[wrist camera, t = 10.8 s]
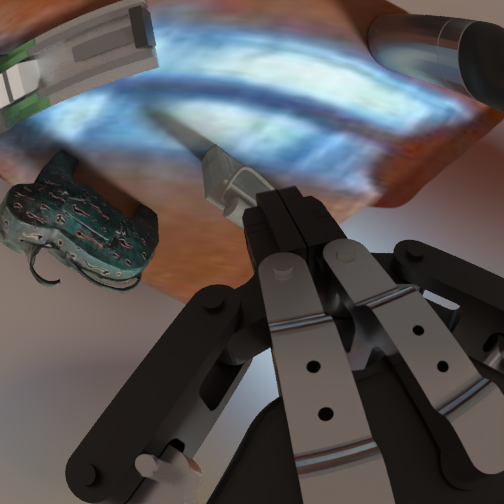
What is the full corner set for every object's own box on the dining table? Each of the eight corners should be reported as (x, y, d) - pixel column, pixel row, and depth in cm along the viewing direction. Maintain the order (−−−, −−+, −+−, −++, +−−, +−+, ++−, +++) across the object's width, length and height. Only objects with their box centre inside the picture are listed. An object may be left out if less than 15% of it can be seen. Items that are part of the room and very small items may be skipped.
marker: (36, 59, 23) (16, 63, 19) (42, 87, 26) (24, 94, 22) (12, 72, 23) (-9, 79, 19) (19, 99, 26) (-1, 109, 22)
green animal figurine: (39, 167, 34) (-31, 257, 19) (59, 131, 32) (-20, 207, 16) (145, 236, 45) (133, 346, 30) (170, 206, 43) (166, 315, 27)
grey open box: (145, -5, 24) (137, -14, 19) (159, 66, 30) (153, 70, 25) (7, 56, 22) (-20, 63, 17) (23, 119, 29) (0, 134, 24)
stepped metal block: (149, 12, 24) (140, 5, 19) (156, 45, 27) (148, 45, 22) (75, 38, 23) (51, 39, 18) (82, 70, 26) (60, 77, 21)
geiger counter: (198, 221, 29) (340, 308, 42) (242, 173, 27) (374, 281, 40) (194, 165, 39) (310, 249, 53) (225, 130, 37) (336, 225, 51)
